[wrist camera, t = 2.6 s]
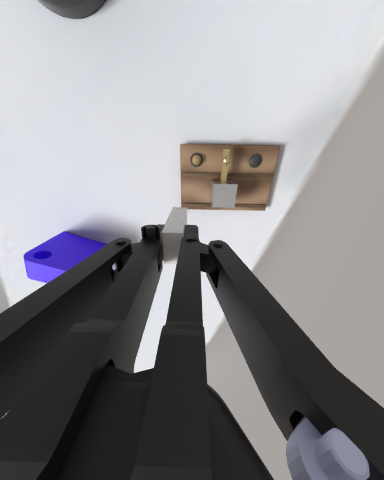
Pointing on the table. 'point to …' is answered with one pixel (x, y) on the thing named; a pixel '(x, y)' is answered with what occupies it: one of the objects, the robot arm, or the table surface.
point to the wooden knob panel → (239, 171)
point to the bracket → (58, 256)
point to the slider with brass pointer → (223, 186)
